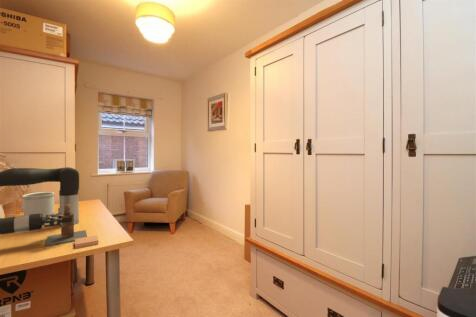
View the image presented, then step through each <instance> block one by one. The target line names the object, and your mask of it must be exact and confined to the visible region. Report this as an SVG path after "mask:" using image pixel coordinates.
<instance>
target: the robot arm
mask: <svg viewBox="0 0 476 317" xmlns="http://www.w3.org/2000/svg"><path fill="white" fill-rule="evenodd" d="M49 182H51V183H53V182H54V183H55V182H56V183H57V182H58V183H59V190H58V193H59V194H58V196H59V199H58V200H59V207H58V208H57V213H54V214H51V215H46V217H42V214H41V213H39V214H30V215H24V214H23V215H18V216H11V217H5V218H4V217H0V235H8V234H15V233H27V232H32V231H33V232H34V231H40V230H42V229H43V227H44V228H47V227H56V226H61V224H62V223H67V222H72V217H68V218H61V215H64V205H67V204H70V214H74V225H76V224H78V223H79V222H80V221H79V220H80V219H79V218H80V217H79V216H80V213H79V212H80V210H79V207H80V206H79V205H80V204H79V190H80V173H79V171H78V170H77V169H76V168H73V167H69V166H67V167H60V168H35V167H34V168H32V167H31V168H30V167H19V168H18V167H13V168H8V169H5V170H1V171H0V187H12V186H13V187H18V186H31V185H37V184H42V183H49Z"/></svg>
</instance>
